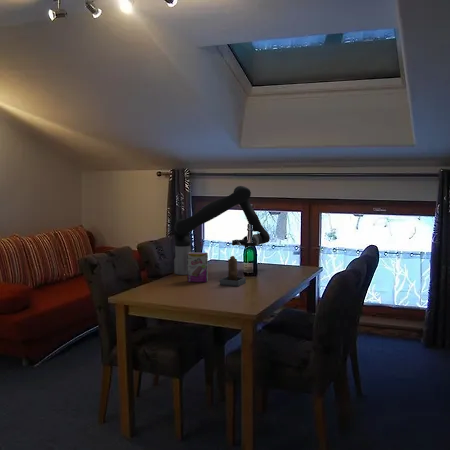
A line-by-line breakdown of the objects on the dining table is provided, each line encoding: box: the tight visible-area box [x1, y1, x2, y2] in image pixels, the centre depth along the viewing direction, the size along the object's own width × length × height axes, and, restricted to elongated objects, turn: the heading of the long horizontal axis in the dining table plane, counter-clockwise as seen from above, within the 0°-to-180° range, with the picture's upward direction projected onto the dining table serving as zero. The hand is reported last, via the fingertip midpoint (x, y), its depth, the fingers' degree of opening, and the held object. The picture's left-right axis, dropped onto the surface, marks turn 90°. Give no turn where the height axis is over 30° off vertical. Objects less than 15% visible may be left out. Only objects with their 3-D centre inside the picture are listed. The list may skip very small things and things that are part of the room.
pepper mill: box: [227, 255, 238, 281], centre depth 286 cm, size 5×5×15 cm
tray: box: [219, 275, 247, 287], centre depth 286 cm, size 11×10×3 cm
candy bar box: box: [187, 251, 209, 283], centre depth 293 cm, size 11×5×16 cm, turn 84°
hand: (239, 244), depth 298 cm, fingers open, 8 cm apart
